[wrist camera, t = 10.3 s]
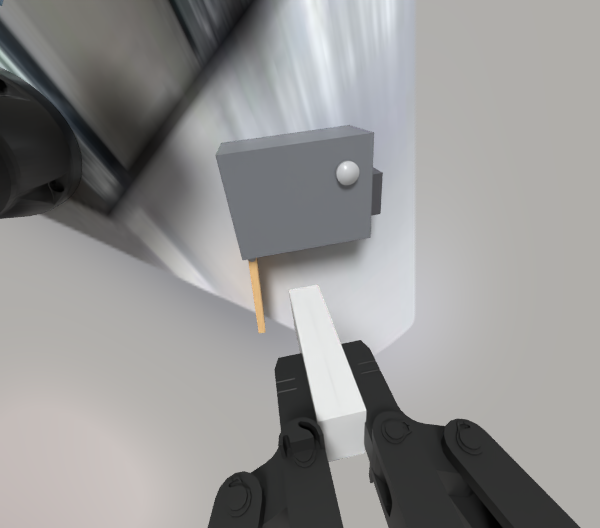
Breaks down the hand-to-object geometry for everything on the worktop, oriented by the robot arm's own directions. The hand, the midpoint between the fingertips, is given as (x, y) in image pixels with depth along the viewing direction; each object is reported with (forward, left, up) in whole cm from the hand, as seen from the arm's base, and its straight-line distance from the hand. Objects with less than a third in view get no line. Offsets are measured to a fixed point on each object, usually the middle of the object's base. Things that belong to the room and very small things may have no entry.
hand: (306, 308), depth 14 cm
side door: (-5, -14, -26) cm, 30 cm away
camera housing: (+3, -1, -26) cm, 27 cm away
